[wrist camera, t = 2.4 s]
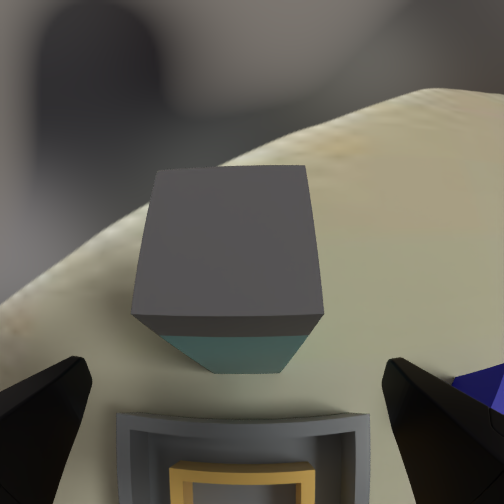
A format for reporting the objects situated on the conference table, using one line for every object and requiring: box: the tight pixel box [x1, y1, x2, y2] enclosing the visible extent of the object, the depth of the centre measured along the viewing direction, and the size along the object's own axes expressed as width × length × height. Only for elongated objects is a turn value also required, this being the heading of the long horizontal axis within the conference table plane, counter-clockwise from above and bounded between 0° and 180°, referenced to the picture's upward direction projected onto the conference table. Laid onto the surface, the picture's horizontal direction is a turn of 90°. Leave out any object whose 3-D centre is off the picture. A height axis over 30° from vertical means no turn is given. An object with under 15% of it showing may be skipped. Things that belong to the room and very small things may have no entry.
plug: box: [131, 165, 324, 374], centre depth 13 cm, size 4×4×13 cm
